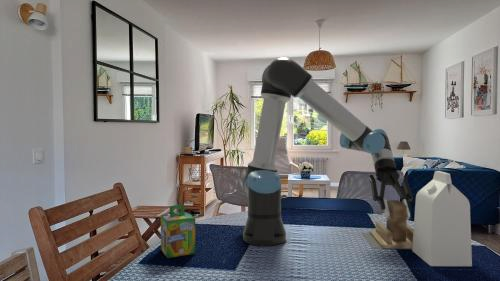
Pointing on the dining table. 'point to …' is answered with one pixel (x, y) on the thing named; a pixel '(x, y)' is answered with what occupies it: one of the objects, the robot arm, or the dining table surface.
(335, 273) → the dining table surface
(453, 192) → the milk
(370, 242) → the mat
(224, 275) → the dining table surface
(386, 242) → the rack
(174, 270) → the dining table surface
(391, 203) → the brown wooden block
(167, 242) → the chalk box
